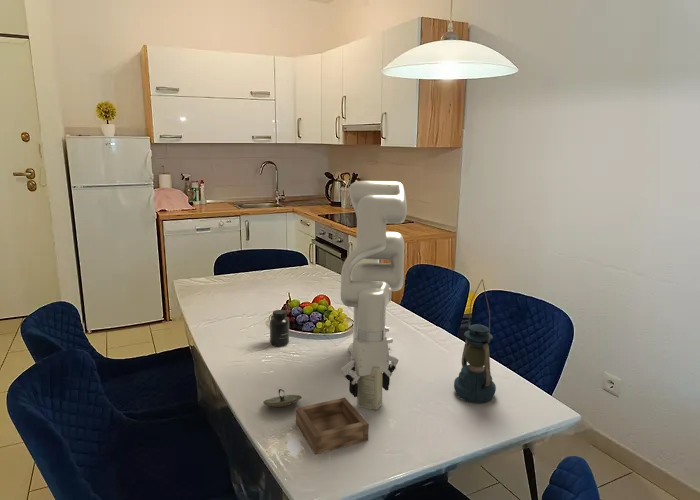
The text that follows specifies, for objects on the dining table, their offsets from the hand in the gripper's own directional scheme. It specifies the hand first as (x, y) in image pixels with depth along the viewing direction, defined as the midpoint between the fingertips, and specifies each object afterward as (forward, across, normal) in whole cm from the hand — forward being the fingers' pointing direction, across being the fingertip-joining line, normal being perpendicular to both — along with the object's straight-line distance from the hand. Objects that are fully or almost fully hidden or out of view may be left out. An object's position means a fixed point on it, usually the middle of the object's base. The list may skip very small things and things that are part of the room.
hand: (369, 391), depth 139 cm
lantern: (+4, -31, +7) cm, 32 cm away
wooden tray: (+4, +15, +8) cm, 17 cm away
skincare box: (+4, 0, 0) cm, 4 cm away
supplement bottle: (+4, +10, -51) cm, 52 cm away
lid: (+4, +22, -9) cm, 24 cm away
